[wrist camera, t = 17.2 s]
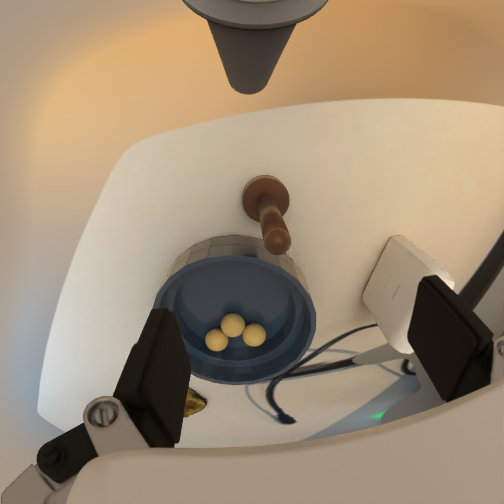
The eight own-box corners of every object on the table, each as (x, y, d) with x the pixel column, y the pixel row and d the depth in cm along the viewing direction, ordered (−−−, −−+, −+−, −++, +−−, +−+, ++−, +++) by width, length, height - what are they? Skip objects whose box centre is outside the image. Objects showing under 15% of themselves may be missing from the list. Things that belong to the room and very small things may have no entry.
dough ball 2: (238, 329, 38) (245, 311, 37) (242, 343, 35) (250, 324, 34) (216, 325, 37) (223, 306, 36) (219, 339, 34) (226, 320, 33)
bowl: (148, 243, 33) (132, 265, 28) (304, 225, 33) (315, 245, 27) (182, 357, 41) (175, 387, 35) (306, 346, 40) (314, 376, 35)
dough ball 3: (256, 354, 35) (235, 343, 36) (263, 342, 38) (243, 331, 39) (265, 338, 34) (244, 326, 35) (272, 326, 37) (251, 315, 37)
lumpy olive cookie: (201, 376, 44) (119, 376, 44) (197, 395, 39) (110, 393, 39) (212, 413, 46) (136, 411, 47) (210, 432, 42) (130, 429, 42)
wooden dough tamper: (241, 175, 31) (238, 211, 18) (286, 174, 31) (317, 208, 18) (243, 218, 32) (242, 281, 19) (286, 217, 33) (314, 278, 19)
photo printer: (390, 229, 33) (445, 275, 22) (414, 239, 34) (469, 285, 23) (356, 298, 37) (391, 362, 26) (380, 305, 38) (418, 364, 26)
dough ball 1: (222, 320, 38) (216, 331, 35) (234, 338, 38) (230, 350, 35) (204, 330, 38) (197, 340, 35) (217, 347, 39) (211, 358, 36)
